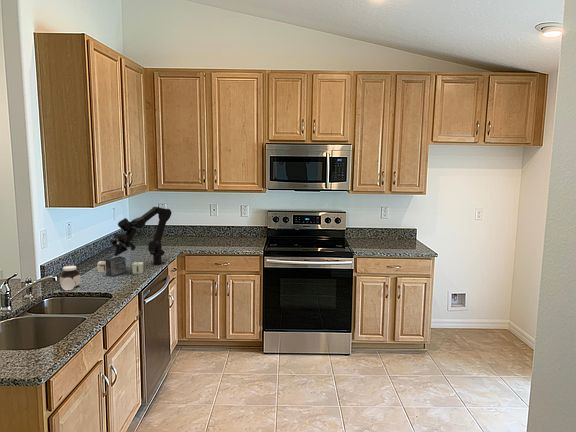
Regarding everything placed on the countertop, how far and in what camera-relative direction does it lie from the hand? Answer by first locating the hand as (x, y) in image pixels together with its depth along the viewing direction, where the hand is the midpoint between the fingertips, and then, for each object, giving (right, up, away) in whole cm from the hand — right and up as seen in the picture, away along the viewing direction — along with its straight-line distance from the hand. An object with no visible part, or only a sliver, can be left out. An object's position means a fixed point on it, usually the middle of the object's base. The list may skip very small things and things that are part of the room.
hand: (115, 255), depth 281 cm
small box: (0, -12, +2) cm, 12 cm away
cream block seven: (-11, -11, +9) cm, 18 cm away
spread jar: (-14, -16, -28) cm, 36 cm away
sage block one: (+12, -11, +7) cm, 18 cm away
